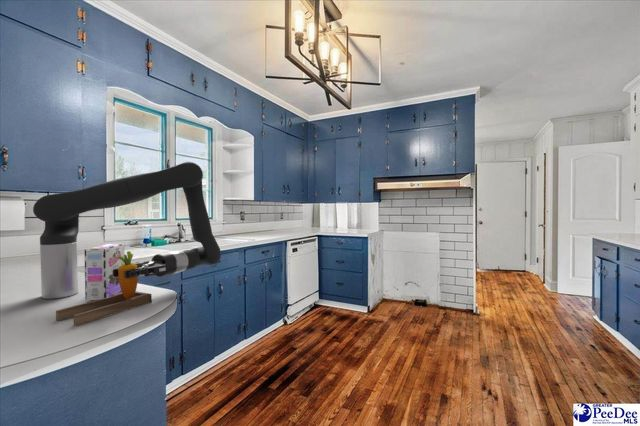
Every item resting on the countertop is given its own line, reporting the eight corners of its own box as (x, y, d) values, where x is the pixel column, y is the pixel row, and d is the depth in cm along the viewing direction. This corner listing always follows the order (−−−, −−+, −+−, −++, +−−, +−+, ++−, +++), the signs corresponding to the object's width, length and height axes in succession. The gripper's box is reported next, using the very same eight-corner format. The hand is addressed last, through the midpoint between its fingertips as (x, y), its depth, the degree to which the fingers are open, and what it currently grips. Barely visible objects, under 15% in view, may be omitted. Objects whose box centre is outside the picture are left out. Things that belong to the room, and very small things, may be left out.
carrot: (129, 305, 88) (127, 253, 88) (115, 304, 89) (113, 253, 89) (142, 299, 93) (141, 250, 93) (129, 299, 94) (127, 250, 94)
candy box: (105, 301, 95) (104, 248, 94) (84, 302, 94) (83, 248, 93) (126, 289, 108) (125, 242, 108) (108, 290, 107) (106, 243, 107)
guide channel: (56, 320, 79) (55, 309, 79) (132, 298, 97) (132, 289, 97) (76, 325, 75) (75, 314, 75) (151, 302, 93) (151, 293, 93)
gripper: (155, 251, 107) (103, 259, 92) (185, 253, 101) (134, 262, 86) (156, 272, 107) (104, 284, 92) (185, 276, 101) (135, 289, 86)
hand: (119, 273), depth 89 cm, fingers closed on carrot, 4 cm apart
